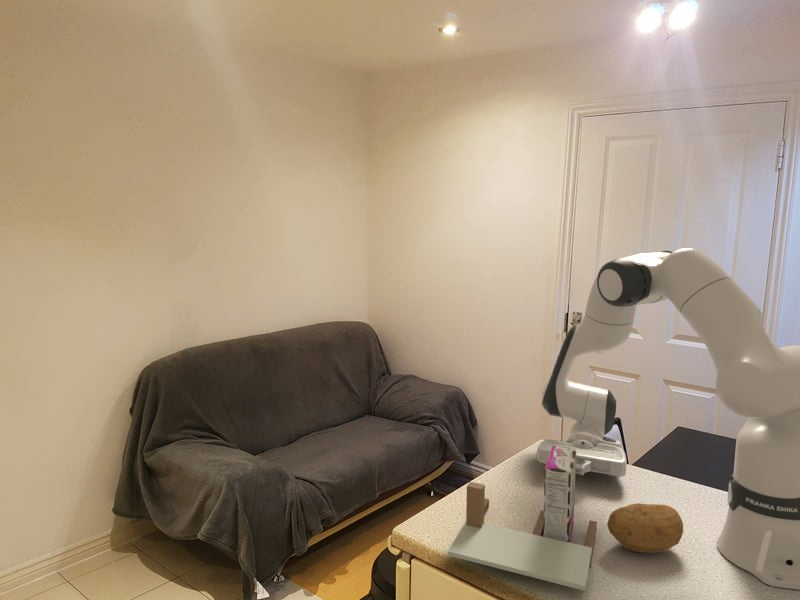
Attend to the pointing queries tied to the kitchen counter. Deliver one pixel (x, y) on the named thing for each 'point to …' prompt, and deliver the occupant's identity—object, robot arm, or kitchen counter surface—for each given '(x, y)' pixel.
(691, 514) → the kitchen counter surface
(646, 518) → the potato
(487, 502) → the frame
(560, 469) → the candy bar box
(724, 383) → the robot arm
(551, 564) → the lid
